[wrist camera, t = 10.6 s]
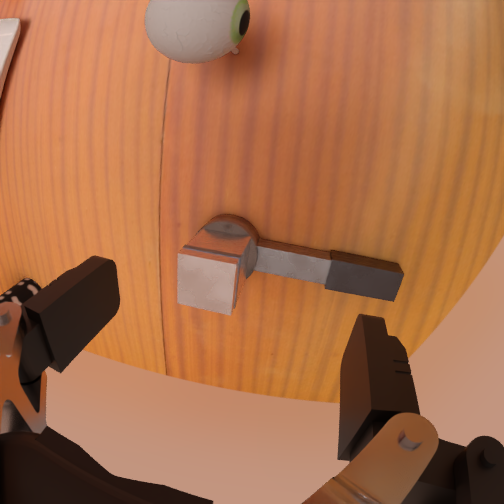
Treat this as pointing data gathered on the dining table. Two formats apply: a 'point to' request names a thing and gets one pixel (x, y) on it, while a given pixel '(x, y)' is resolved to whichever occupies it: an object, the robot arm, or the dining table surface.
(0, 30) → the square plate
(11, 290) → the spotted tube
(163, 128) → the dining table surface
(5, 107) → the dining table surface
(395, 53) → the dining table surface
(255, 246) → the ratchet
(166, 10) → the lollipop
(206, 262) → the silver block
